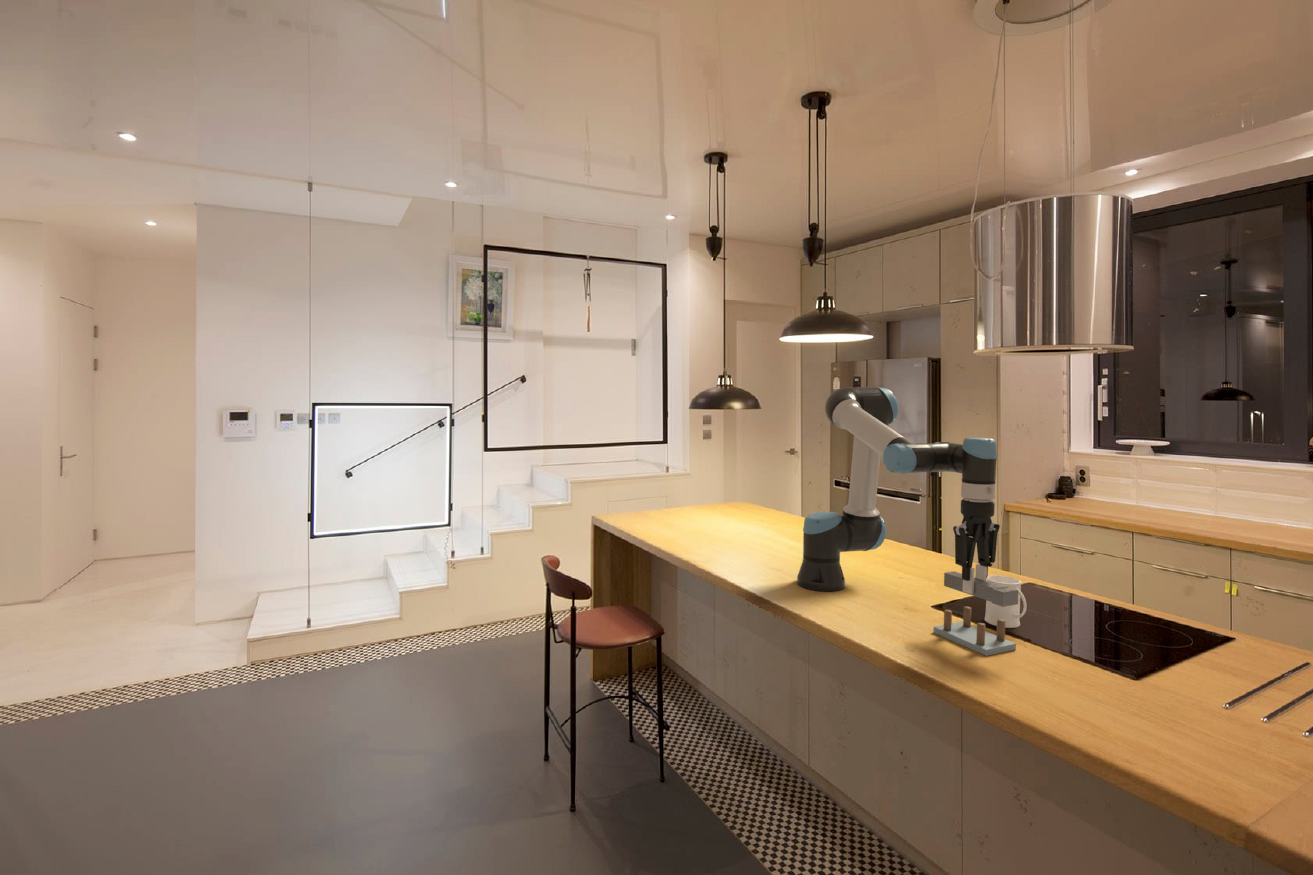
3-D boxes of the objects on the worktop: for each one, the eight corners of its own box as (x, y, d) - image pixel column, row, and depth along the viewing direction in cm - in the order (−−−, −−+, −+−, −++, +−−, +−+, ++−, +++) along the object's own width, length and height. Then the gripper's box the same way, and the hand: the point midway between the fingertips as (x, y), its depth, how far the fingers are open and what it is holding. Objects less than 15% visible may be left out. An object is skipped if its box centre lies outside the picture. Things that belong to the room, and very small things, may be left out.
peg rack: (933, 632, 164) (934, 608, 164) (961, 627, 168) (962, 603, 168) (986, 655, 150) (987, 629, 149) (1015, 649, 153) (1016, 623, 153)
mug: (1036, 631, 165) (1038, 587, 164) (1007, 633, 164) (1009, 588, 163) (1005, 616, 177) (1006, 574, 176) (977, 617, 175) (979, 575, 175)
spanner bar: (941, 586, 164) (942, 572, 164) (956, 584, 166) (956, 571, 166) (1002, 606, 148) (1003, 592, 147) (1017, 604, 149) (1018, 589, 149)
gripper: (965, 504, 150) (961, 600, 151) (1015, 500, 156) (1011, 592, 157) (940, 499, 157) (937, 591, 158) (989, 495, 163) (985, 584, 164)
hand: (974, 591), depth 158 cm, fingers closed on spanner bar, 3 cm apart
